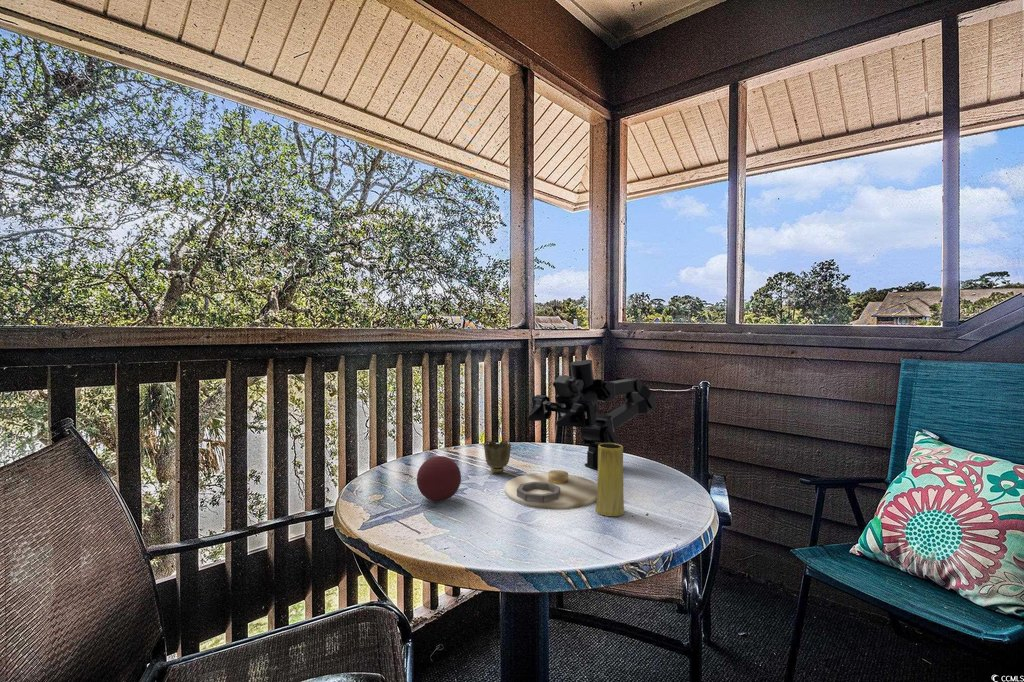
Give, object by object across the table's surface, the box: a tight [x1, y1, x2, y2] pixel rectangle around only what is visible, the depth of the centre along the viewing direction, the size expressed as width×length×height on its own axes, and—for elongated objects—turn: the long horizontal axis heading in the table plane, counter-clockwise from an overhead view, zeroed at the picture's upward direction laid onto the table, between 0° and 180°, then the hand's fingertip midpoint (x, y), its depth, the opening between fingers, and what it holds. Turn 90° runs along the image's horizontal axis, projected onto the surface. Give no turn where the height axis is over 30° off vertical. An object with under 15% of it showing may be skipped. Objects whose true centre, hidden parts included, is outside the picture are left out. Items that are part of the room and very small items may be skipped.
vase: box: [595, 443, 625, 517], centre depth 102 cm, size 6×6×14 cm
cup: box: [483, 440, 512, 475], centre depth 130 cm, size 8×7×8 cm
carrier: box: [504, 469, 598, 510], centre depth 115 cm, size 23×23×3 cm
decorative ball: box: [416, 455, 462, 502], centre depth 108 cm, size 10×10×10 cm
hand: (542, 421), depth 117 cm, fingers open, 9 cm apart
